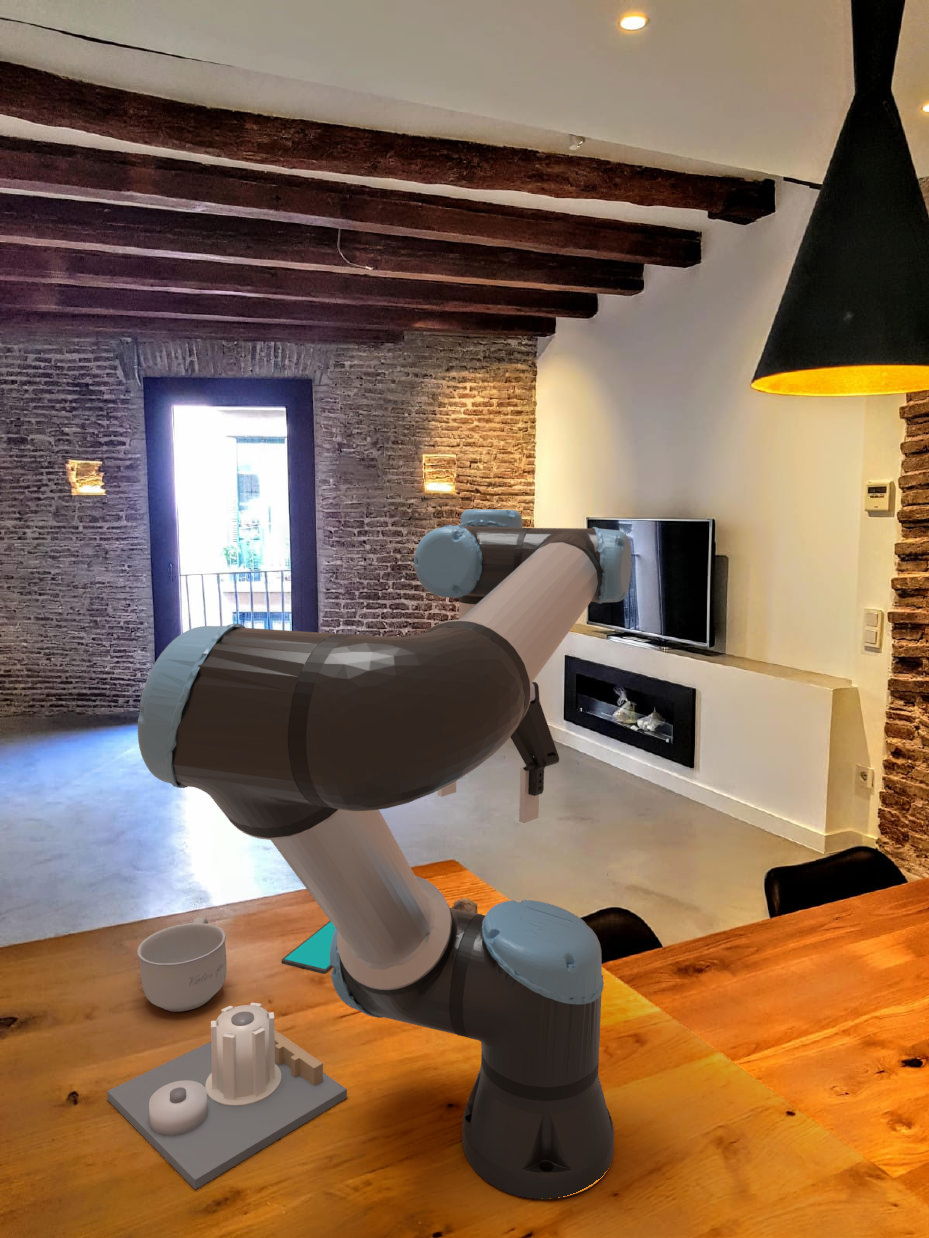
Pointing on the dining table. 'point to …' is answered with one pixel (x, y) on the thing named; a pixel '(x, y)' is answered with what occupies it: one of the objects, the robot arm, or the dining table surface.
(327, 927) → the smartphone
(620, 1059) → the dining table surface
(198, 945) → the teacup
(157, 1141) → the carrier plate
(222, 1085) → the planet gear
